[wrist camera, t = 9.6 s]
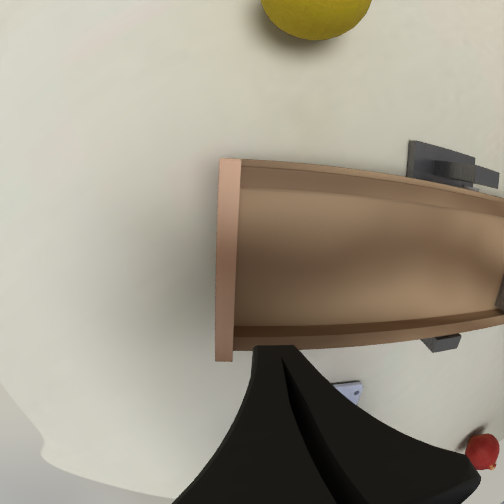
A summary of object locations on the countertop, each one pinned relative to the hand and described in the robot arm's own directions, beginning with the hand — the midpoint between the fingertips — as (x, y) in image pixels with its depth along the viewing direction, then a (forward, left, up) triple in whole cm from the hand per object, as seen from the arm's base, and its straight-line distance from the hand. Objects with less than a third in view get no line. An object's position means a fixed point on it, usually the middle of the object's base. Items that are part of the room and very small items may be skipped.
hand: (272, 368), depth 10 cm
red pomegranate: (-28, -36, -10) cm, 47 cm away
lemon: (+16, -2, -10) cm, 19 cm away
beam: (+2, -11, -7) cm, 13 cm away
